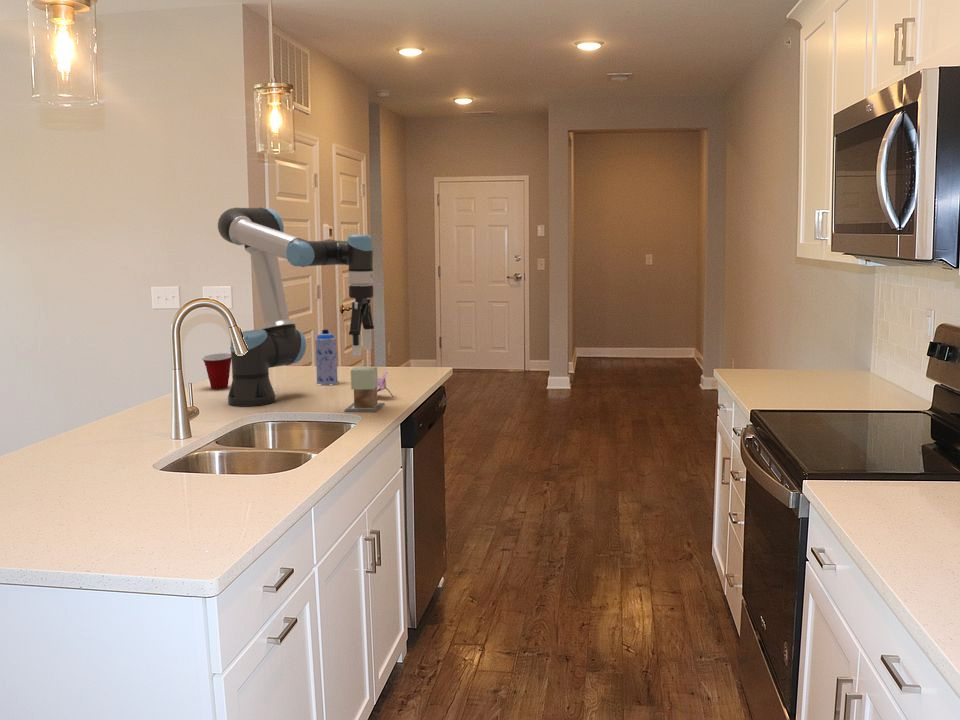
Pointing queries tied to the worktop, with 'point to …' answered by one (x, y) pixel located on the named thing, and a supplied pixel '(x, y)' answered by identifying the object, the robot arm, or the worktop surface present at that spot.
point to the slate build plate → (352, 409)
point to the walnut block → (365, 398)
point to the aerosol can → (326, 358)
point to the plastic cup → (218, 369)
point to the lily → (382, 382)
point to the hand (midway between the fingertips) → (362, 352)
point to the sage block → (364, 378)
